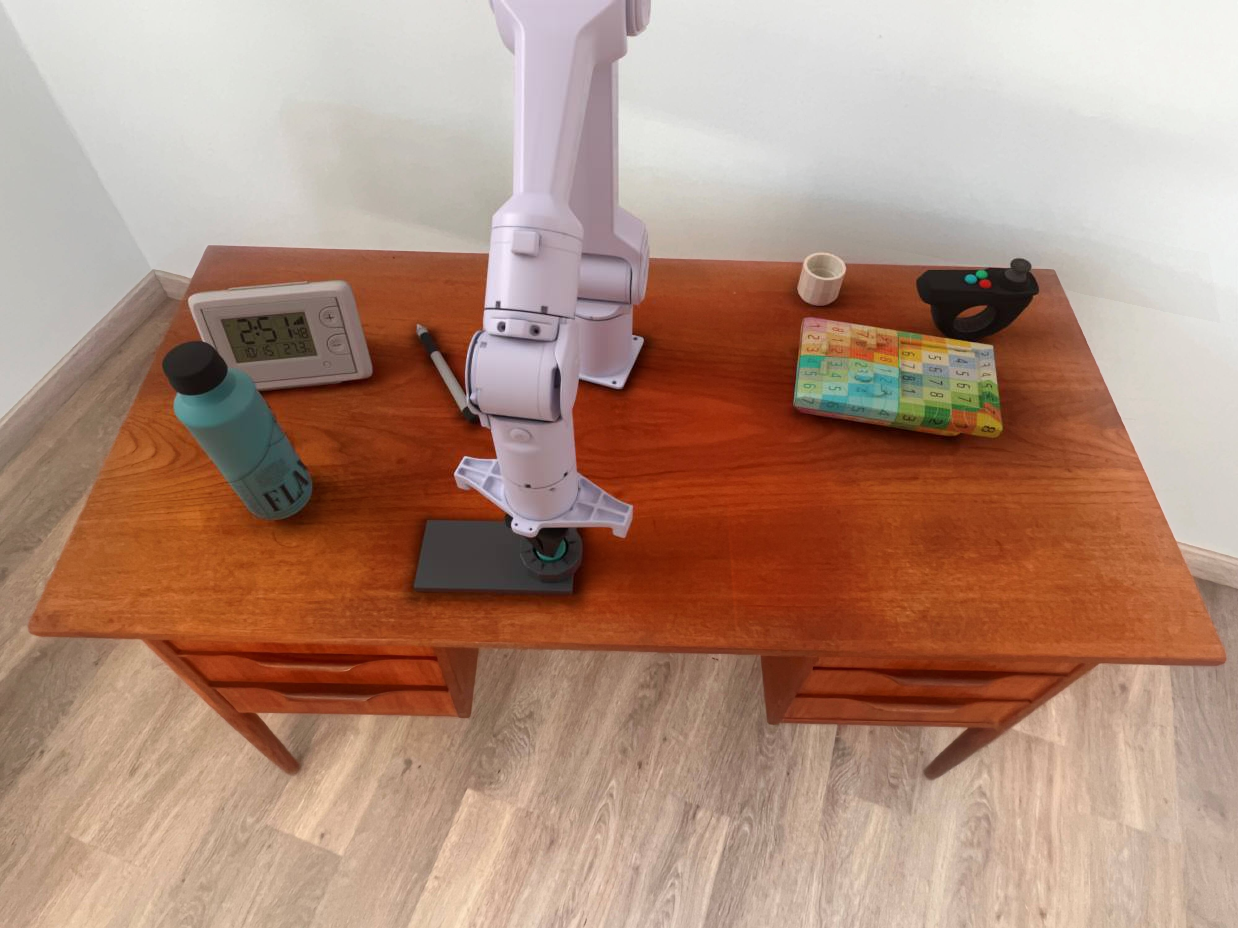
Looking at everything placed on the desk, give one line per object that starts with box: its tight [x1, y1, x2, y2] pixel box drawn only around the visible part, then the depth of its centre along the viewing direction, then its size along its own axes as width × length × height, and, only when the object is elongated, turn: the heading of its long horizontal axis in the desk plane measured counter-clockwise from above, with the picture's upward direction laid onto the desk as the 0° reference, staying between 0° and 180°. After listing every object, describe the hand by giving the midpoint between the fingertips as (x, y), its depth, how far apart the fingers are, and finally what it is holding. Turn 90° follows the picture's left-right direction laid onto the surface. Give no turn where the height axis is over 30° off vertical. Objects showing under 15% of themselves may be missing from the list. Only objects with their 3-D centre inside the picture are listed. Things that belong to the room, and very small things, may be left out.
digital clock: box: [187, 279, 374, 392], centre depth 77 cm, size 16×9×11 cm, turn 86°
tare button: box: [536, 540, 566, 563], centre depth 66 cm, size 3×3×2 cm
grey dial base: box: [413, 519, 584, 596], centre depth 67 cm, size 15×7×2 cm, turn 89°
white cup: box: [796, 252, 847, 307], centre depth 87 cm, size 5×5×4 cm
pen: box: [416, 322, 479, 424], centre depth 81 cm, size 1×16×1 cm, turn 30°
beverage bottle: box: [161, 340, 314, 521], centre depth 63 cm, size 6×7×20 cm
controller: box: [915, 257, 1040, 341], centre depth 81 cm, size 4×12×10 cm, turn 88°
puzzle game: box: [792, 317, 1004, 439], centre depth 77 cm, size 12×5×20 cm
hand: (550, 546), depth 66 cm, fingers closed, pressing on tare button
